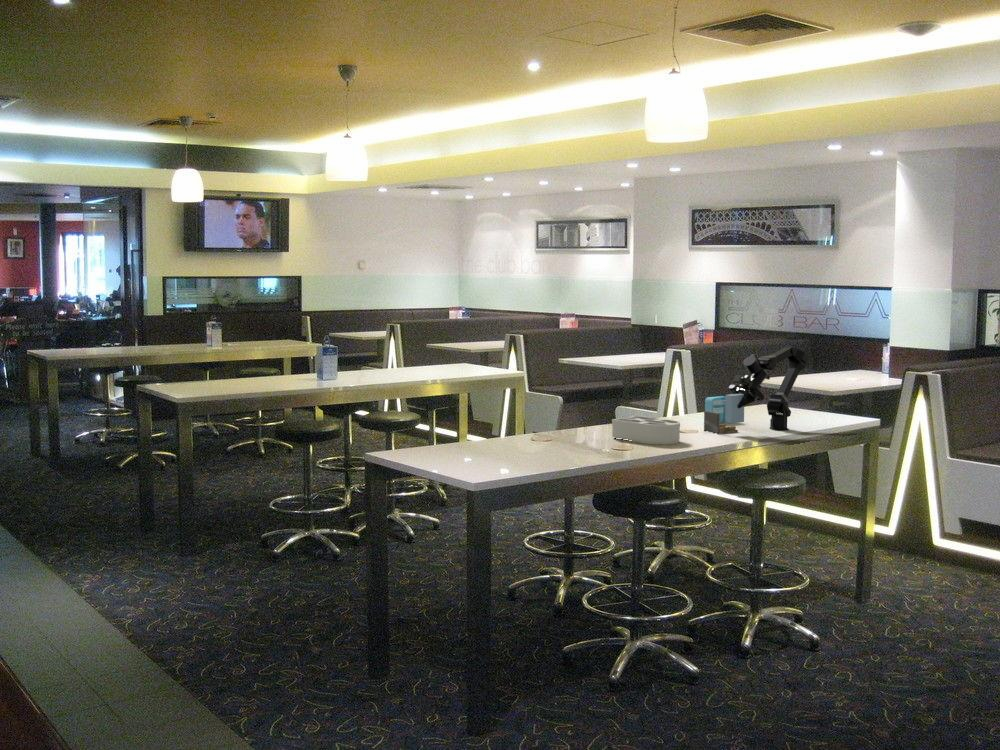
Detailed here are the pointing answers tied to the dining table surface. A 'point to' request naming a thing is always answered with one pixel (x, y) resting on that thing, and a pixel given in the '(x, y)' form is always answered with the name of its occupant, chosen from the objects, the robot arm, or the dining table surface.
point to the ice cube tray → (646, 430)
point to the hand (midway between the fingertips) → (734, 407)
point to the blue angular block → (733, 408)
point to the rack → (715, 424)
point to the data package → (716, 406)
